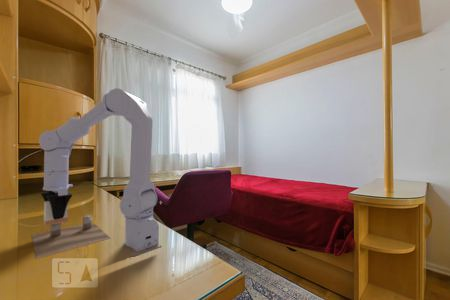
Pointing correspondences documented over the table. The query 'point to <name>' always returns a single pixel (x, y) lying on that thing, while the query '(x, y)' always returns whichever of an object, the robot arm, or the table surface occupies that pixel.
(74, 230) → the pin board
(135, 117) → the robot arm
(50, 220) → the sleeve
